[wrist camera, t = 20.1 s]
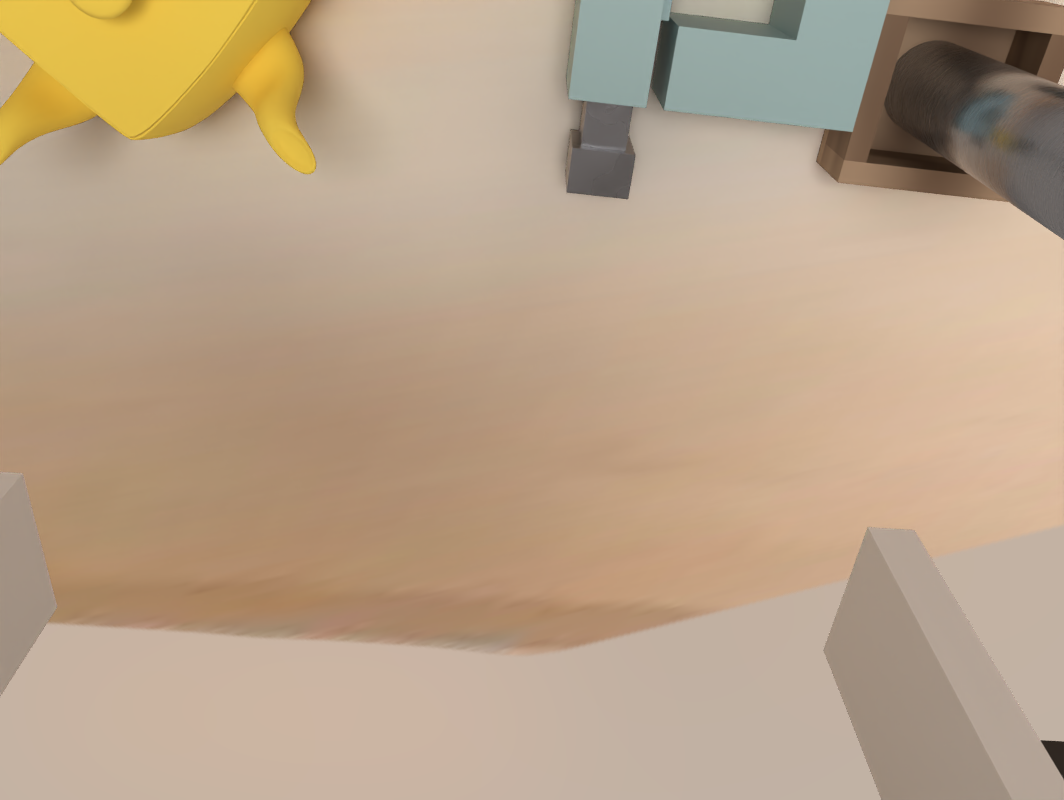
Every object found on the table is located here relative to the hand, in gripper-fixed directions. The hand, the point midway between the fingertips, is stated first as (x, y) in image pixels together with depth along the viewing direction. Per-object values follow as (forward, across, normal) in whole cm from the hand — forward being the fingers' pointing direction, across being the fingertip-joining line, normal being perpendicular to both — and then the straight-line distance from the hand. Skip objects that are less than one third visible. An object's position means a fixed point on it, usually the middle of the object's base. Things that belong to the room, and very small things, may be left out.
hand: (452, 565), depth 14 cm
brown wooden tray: (+31, +20, +3) cm, 37 cm away
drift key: (+32, +5, +2) cm, 32 cm away
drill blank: (+31, +19, +3) cm, 37 cm away
